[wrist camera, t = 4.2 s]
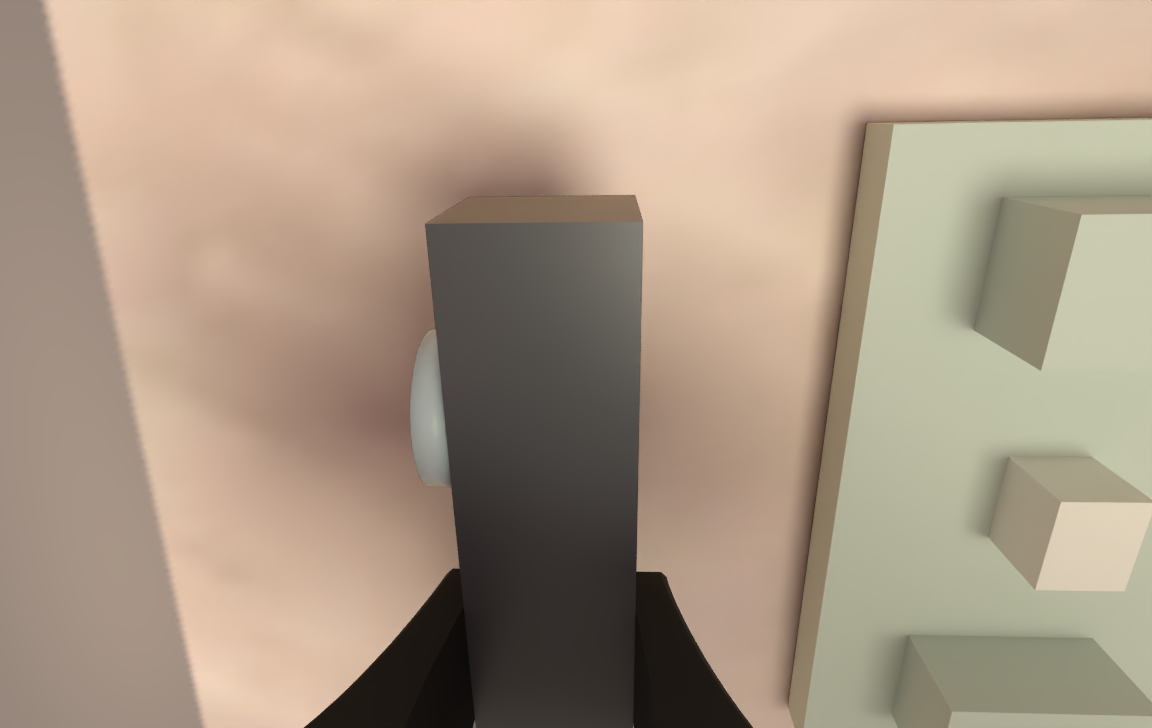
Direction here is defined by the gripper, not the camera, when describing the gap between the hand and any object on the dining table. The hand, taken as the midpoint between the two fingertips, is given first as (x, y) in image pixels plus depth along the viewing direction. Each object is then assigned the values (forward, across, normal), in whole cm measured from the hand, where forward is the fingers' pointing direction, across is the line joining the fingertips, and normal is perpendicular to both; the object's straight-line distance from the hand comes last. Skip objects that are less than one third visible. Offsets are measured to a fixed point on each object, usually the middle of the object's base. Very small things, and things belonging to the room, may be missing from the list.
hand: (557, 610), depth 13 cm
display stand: (+6, -12, 0) cm, 13 cm away
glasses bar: (+2, 0, 0) cm, 2 cm away
